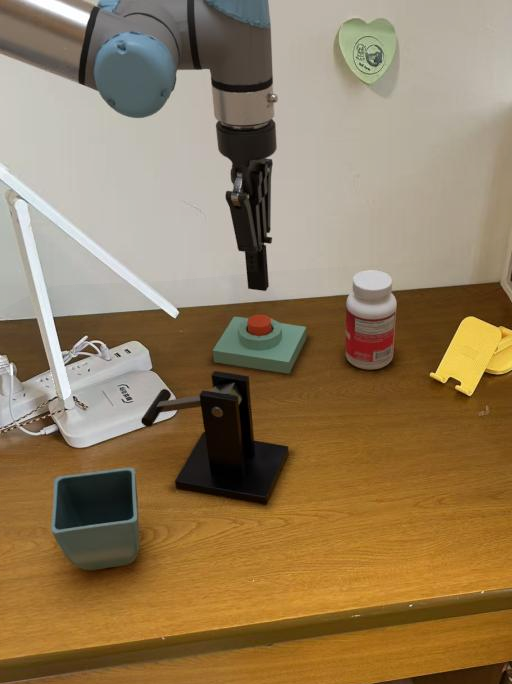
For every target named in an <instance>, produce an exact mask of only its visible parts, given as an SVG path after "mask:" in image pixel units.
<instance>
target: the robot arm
mask: <svg viewBox="0 0 512 684" xmlns="http://www.w3.org/2000/svg"><path fill="white" fill-rule="evenodd" d="M270 15H271V14H270V4H269V0H98V1H97V4H96V5H95V4H93V3H91V2H88V1H87V0H0V55H3V56H6V57H8V58H11V59H13V60H15V61H18V62H21V63H24V64H25V65H29V66H31V67H34V68H37V69H39V70H43V71H45V72H48V73H50V74H53V75H55V76H58V77H61V78H63V79H65V80H68V81H70V82H73V83H76V84H79V85H81V86H85V87H86V88H89V89H92V90H94V91H96V92H98V94H99V95H100V97H101V98H102V100H104V102H105V103H106V104H107V105H108V106H109V107H110V108H111V109H112V110H114V111H115V112H116V113H118V114H119V115H122V116H125V117H128V118H132V119H143V118H148V117H150V116H153V115H155V114H157V113H158V112H159V111H160V110H162V109H163V108H164V106H165V105H166V103H167V101H168V100H169V99H170V97H171V94H172V93H173V92H174V91H175V87H176V84H177V73H178V71H202V70H209V72H210V82H211V95H212V106H213V116H214V118H215V120H216V121H217V122H216V124H215V132H216V141H217V142H216V143H217V147H218V148H217V150H218V152H219V153H220V154H221V155H222V156H223V157H225V158H226V159H228V160H229V161H230V162H231V164H232V165H231V168H230V181H231V184H232V186H233V188H232V190H226V191H225V201H226V203H227V205H228V207H229V212H230V217H231V222H232V227H233V232H234V236H235V241H236V246H237V247H236V248H237V250H238V252H242V253H244V259H245V270H246V281H247V289H248V290H255V291H261V292H262V291H263V292H267V290H268V288H269V286H270V284H269V269H268V268H269V267H268V253H267V245H266V244H269V245H272V242H273V237H272V236H268V234H270V232H271V229H272V228H271V222H272V221H271V220H272V219H271V210H272V209H271V208H272V171H273V165H274V163H273V158H270V157H271V156H272V155H274V154H275V153H276V151H277V148H278V147H277V146H278V145H277V144H278V143H277V126H276V125H277V124H276V122H275V121H274V119H273V118H274V117H275V115H276V114H275V103H278V100H279V97H278V94H276V93H274V76H273V50H272V48H273V47H272V46H273V45H272V26H271V25H272V24H271V16H270Z"/></svg>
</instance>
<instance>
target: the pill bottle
mask: <svg viewBox="0 0 512 684" xmlns="http://www.w3.org/2000/svg"><path fill="white" fill-rule="evenodd" d="M392 291H393V279H392V277H391V275H389V274H388V273H387V272H384V271H381V270H376V269H367V270H362V271H359V272H357V273H356V274H355V275H353V278H352V291H351V292H350V294H348V296H347V298H346V301H345V302H346V303H345V305H346V306H345V312H346V313H345V345H344V346H345V348H344V349H345V358H346V360H347V362H348V363H350V364H351V365H352V366H354V367H356V368H358V369H361V370H368V371H371V370H372V371H373V370H379V369H382V368H385V367H386V366H388V365H389V364H390V363H391V362H392V361H393V358H394V352H395V339H396V338H395V335H396V323H397V322H396V321H397V307H398V306H397V305H398V301H397V299H396V297H395V295H394V294H393V292H392Z"/></svg>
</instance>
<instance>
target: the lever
mask: <svg viewBox="0 0 512 684" xmlns="http://www.w3.org/2000/svg"><path fill="white" fill-rule="evenodd" d="M210 392H217V393H223V394H229V395H235V396H238V404H240V402H241V400H242V396H241V394H240V392H239V390H238V388H237V386H236V384H235V383H229V384H222V385H216V386H214V388H213V387H212V390H211V391H210ZM171 397H172V393H171V391H170V390H168V389H166V388H161V390H160V391H159V393H158V394H157V396H156V397H155V398H154V400H153V401H152V403H151V404H150V405H149V407H148V409H147V410H146V411H145V413H144V415H143V416H142V417H141V419H140V422H141V424H142V425H143V426H144V427H147V428H151V427H152V426H153V425H154V423H155V422H156V421H157V419H158V417H159V416H160V414H161V413H167V412H173V411H181V410H187V409H195V408H201V402H200V395H194V396H193V395H192V396H188V397H181V398H174V399H171Z"/></svg>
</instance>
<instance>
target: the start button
mask: <svg viewBox="0 0 512 684" xmlns="http://www.w3.org/2000/svg"><path fill="white" fill-rule="evenodd" d="M248 318H249V319H248V321H247V323H248V332H249V334H251V335H255V336H263V335H267V334H269V333H271V331H272V327H271V319H270V318H271V317H270V316H268V315H266V314H254V315H251V316H249V317H248Z"/></svg>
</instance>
